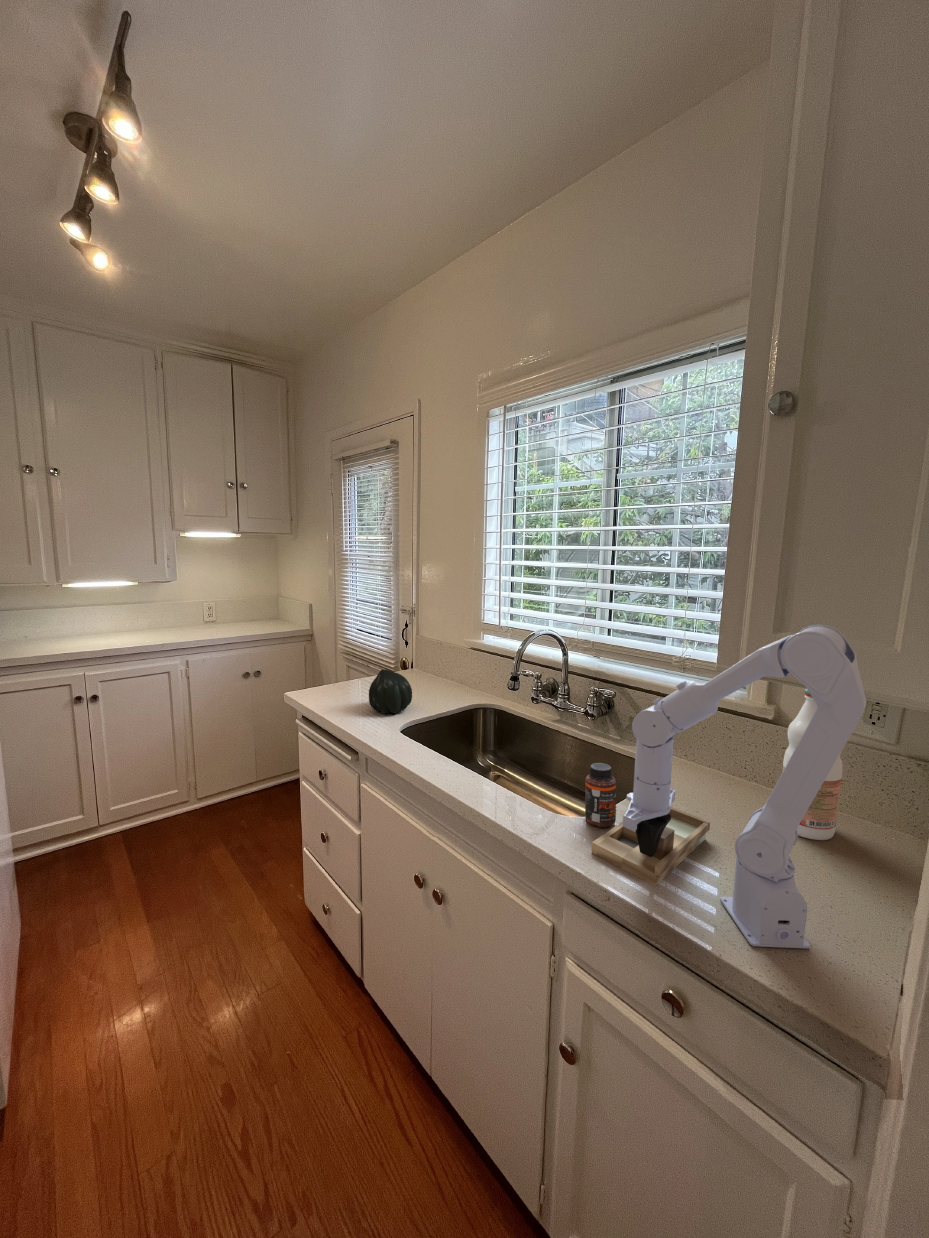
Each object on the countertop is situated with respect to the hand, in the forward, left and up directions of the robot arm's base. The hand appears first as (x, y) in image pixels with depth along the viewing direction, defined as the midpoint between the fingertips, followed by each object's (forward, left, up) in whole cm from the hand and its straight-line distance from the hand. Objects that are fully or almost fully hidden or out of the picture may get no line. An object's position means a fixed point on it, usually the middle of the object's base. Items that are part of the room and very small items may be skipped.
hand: (647, 853), depth 84 cm
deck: (+7, -3, -3) cm, 8 cm away
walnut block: (+2, -2, -1) cm, 4 cm away
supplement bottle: (+15, +4, -3) cm, 16 cm away
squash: (+81, +59, -3) cm, 100 cm away
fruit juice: (+15, -36, -3) cm, 39 cm away
